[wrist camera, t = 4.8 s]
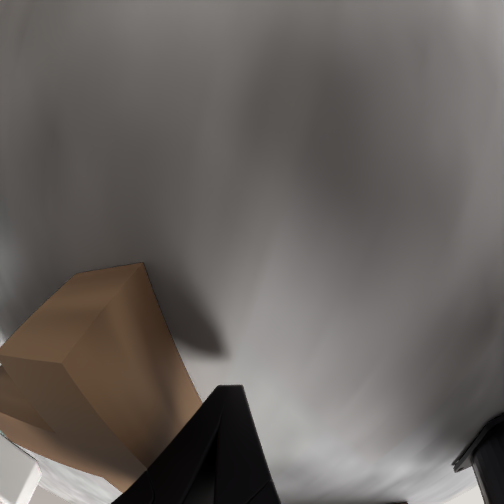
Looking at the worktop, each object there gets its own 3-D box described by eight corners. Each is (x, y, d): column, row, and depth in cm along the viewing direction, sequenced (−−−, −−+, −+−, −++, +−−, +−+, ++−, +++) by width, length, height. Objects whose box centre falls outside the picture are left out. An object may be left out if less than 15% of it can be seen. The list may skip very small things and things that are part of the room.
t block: (-7, 287, 9) (-66, 340, 5) (142, 262, 8) (61, 362, 4) (76, 418, 12) (47, 474, 8) (218, 434, 11) (204, 517, 7)
